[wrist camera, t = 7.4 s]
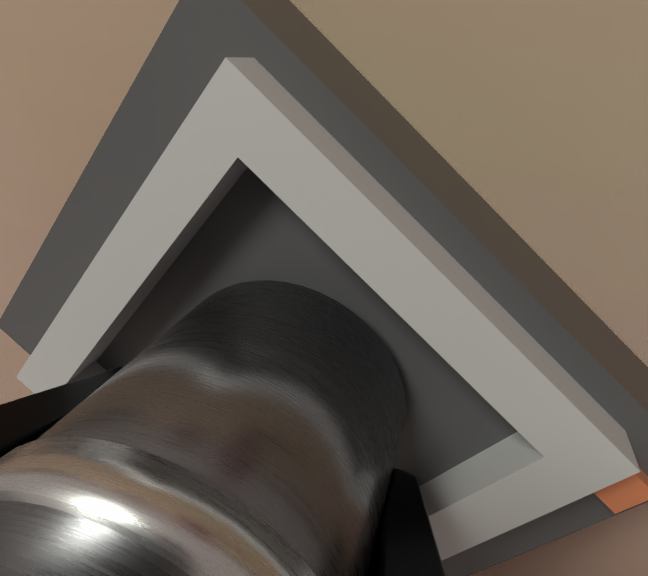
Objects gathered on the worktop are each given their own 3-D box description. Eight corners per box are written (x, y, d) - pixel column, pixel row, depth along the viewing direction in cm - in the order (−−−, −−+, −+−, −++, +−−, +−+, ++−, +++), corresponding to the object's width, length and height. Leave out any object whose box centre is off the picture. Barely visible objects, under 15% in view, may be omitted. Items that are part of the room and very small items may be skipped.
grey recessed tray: (659, 379, 11) (734, 521, 8) (361, 537, 16) (326, 669, 13) (274, -15, 10) (165, -52, 7) (81, 279, 15) (-40, 344, 12)
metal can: (376, 523, 11) (271, 942, 6) (167, 440, 12) (-85, 736, 7) (446, 326, 9) (377, 735, 3) (179, 242, 10) (-198, 460, 4)
